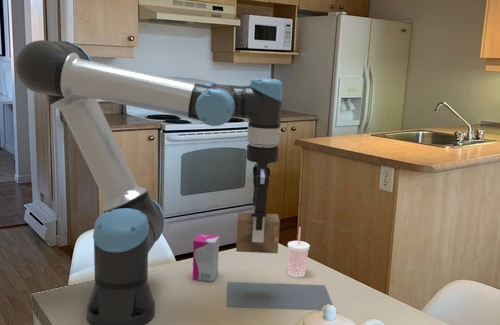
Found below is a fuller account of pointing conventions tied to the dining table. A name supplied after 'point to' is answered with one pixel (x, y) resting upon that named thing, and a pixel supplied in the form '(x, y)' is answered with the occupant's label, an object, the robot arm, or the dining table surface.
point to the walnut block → (246, 231)
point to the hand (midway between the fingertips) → (257, 236)
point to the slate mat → (277, 296)
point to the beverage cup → (297, 257)
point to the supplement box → (205, 258)
